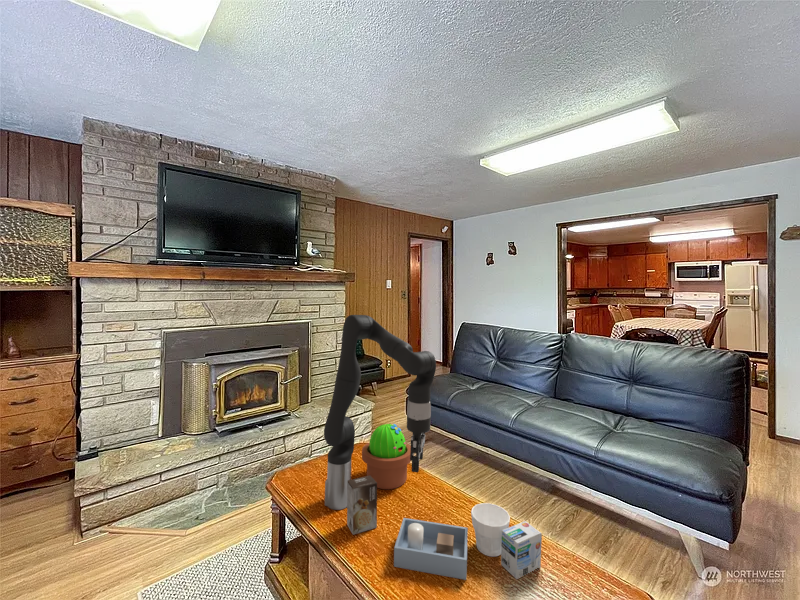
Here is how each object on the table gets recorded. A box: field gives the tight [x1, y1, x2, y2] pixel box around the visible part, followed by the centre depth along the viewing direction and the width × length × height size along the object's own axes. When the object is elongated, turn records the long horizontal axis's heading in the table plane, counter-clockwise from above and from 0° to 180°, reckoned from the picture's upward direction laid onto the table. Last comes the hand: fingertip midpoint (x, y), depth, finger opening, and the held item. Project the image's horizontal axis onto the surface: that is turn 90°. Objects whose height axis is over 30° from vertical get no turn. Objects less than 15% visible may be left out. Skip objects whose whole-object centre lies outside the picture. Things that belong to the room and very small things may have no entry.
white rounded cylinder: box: [407, 523, 424, 551], centre depth 112 cm, size 5×5×7 cm
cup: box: [470, 502, 511, 557], centre depth 115 cm, size 12×12×11 cm
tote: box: [393, 517, 469, 581], centre depth 111 cm, size 22×15×6 cm
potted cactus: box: [361, 422, 412, 490], centre depth 156 cm, size 22×22×25 cm
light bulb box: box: [500, 520, 543, 580], centre depth 107 cm, size 11×7×11 cm, turn 119°
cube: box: [436, 533, 454, 556], centre depth 110 cm, size 5×5×5 cm
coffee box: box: [346, 475, 378, 535], centre depth 124 cm, size 9×6×16 cm
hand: (417, 465), depth 111 cm, fingers open, 8 cm apart
